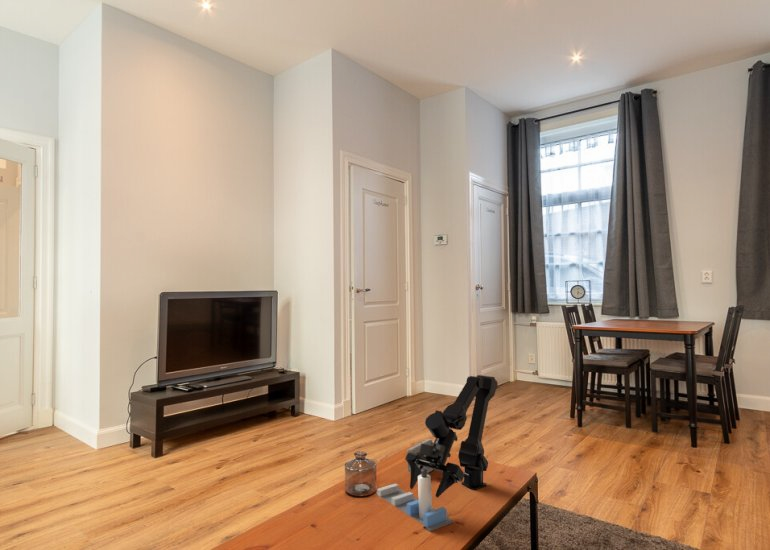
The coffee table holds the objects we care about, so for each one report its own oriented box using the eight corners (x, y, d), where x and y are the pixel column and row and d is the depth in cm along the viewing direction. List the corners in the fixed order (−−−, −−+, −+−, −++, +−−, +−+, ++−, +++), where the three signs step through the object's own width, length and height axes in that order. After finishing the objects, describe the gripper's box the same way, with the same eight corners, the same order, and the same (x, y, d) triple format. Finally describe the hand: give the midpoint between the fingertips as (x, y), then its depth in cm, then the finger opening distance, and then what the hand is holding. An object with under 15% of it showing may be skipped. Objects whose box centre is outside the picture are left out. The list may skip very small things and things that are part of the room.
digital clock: (416, 481, 171) (416, 452, 171) (399, 474, 177) (399, 445, 177) (445, 469, 181) (445, 441, 182) (428, 463, 188) (428, 436, 188)
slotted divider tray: (396, 489, 164) (396, 477, 164) (452, 522, 141) (452, 509, 141) (375, 495, 159) (375, 484, 159) (429, 531, 136) (429, 517, 136)
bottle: (421, 512, 145) (420, 466, 146) (434, 514, 144) (432, 468, 144) (417, 518, 142) (415, 471, 142) (429, 520, 140) (428, 473, 141)
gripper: (408, 426, 152) (387, 472, 143) (459, 438, 141) (440, 488, 132) (421, 444, 158) (402, 489, 149) (471, 457, 147) (454, 506, 138)
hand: (423, 492), depth 142 cm, fingers open, 9 cm apart
